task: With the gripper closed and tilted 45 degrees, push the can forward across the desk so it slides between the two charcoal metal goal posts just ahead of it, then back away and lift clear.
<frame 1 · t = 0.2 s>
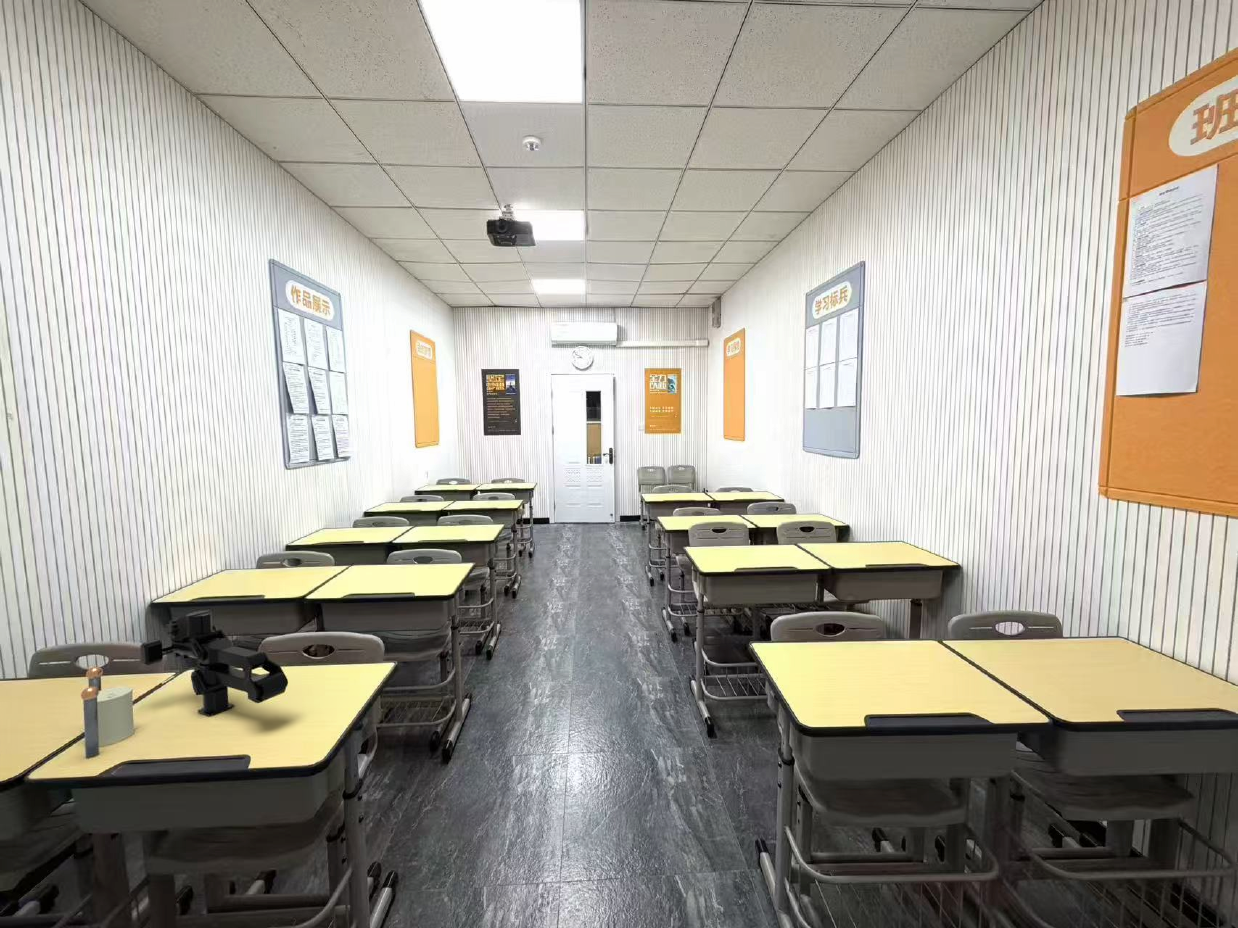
hand: (165, 640, 165), 16 cm above the table, tool horizontal, fingers open, 9 cm apart
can: (110, 738, 140), on the table
goal: (94, 741, 138), on the table
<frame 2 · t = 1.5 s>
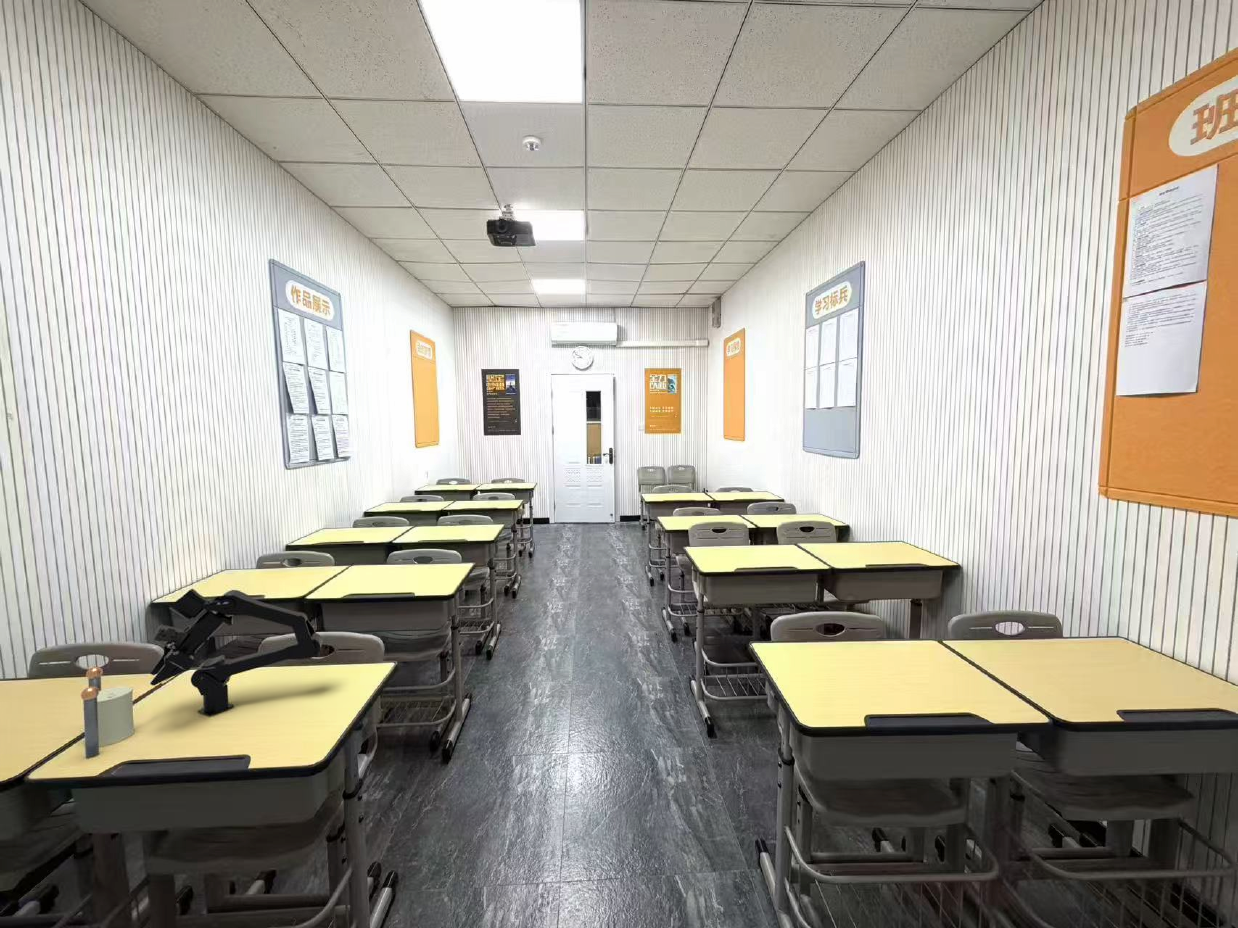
hand: (151, 679, 146), 13 cm above the table, tool tilted 45°, fingers open, 9 cm apart
nothing on the table moved.
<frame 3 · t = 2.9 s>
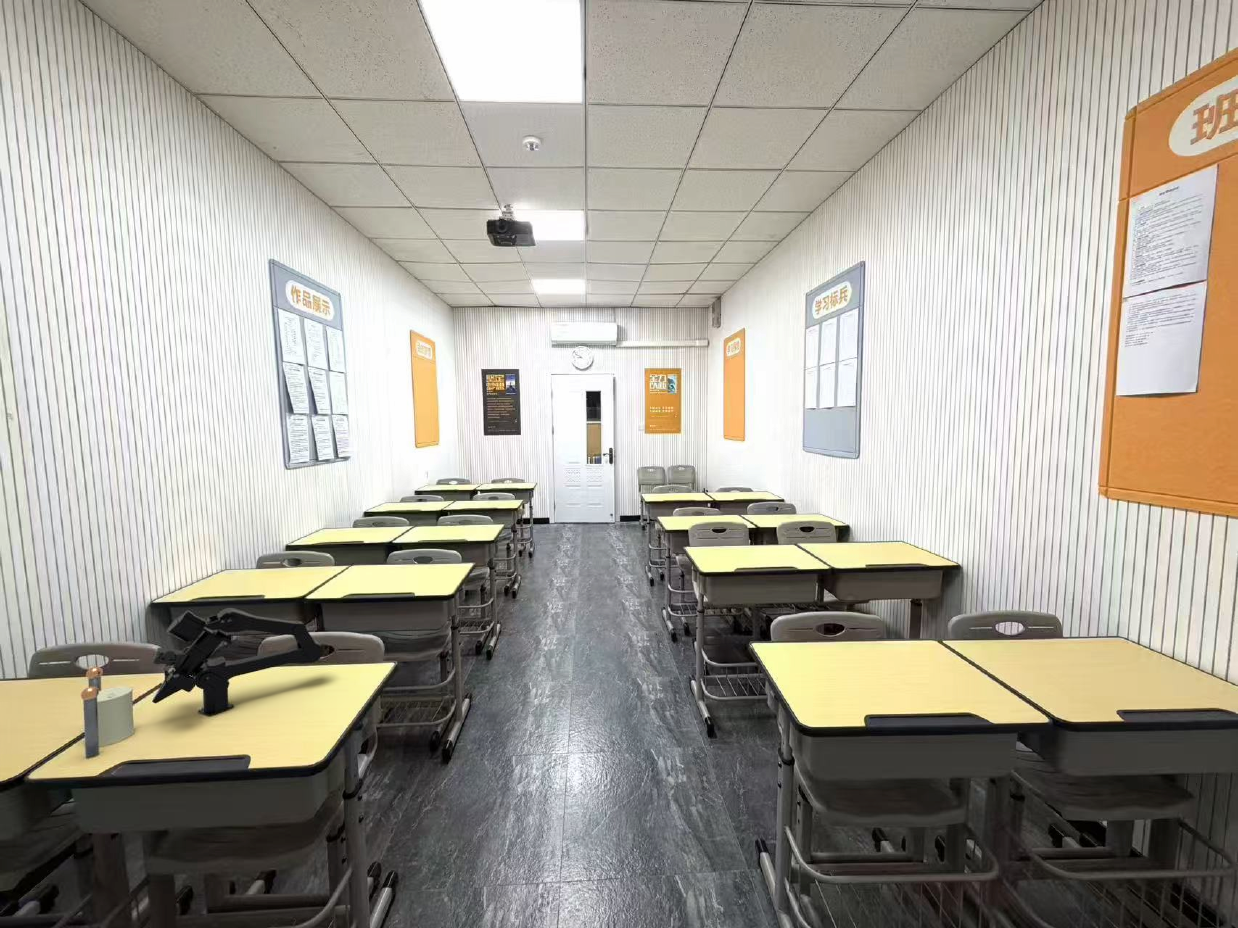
hand: (153, 702, 146), 6 cm above the table, tool tilted 40°, fingers closed
nothing on the table moved.
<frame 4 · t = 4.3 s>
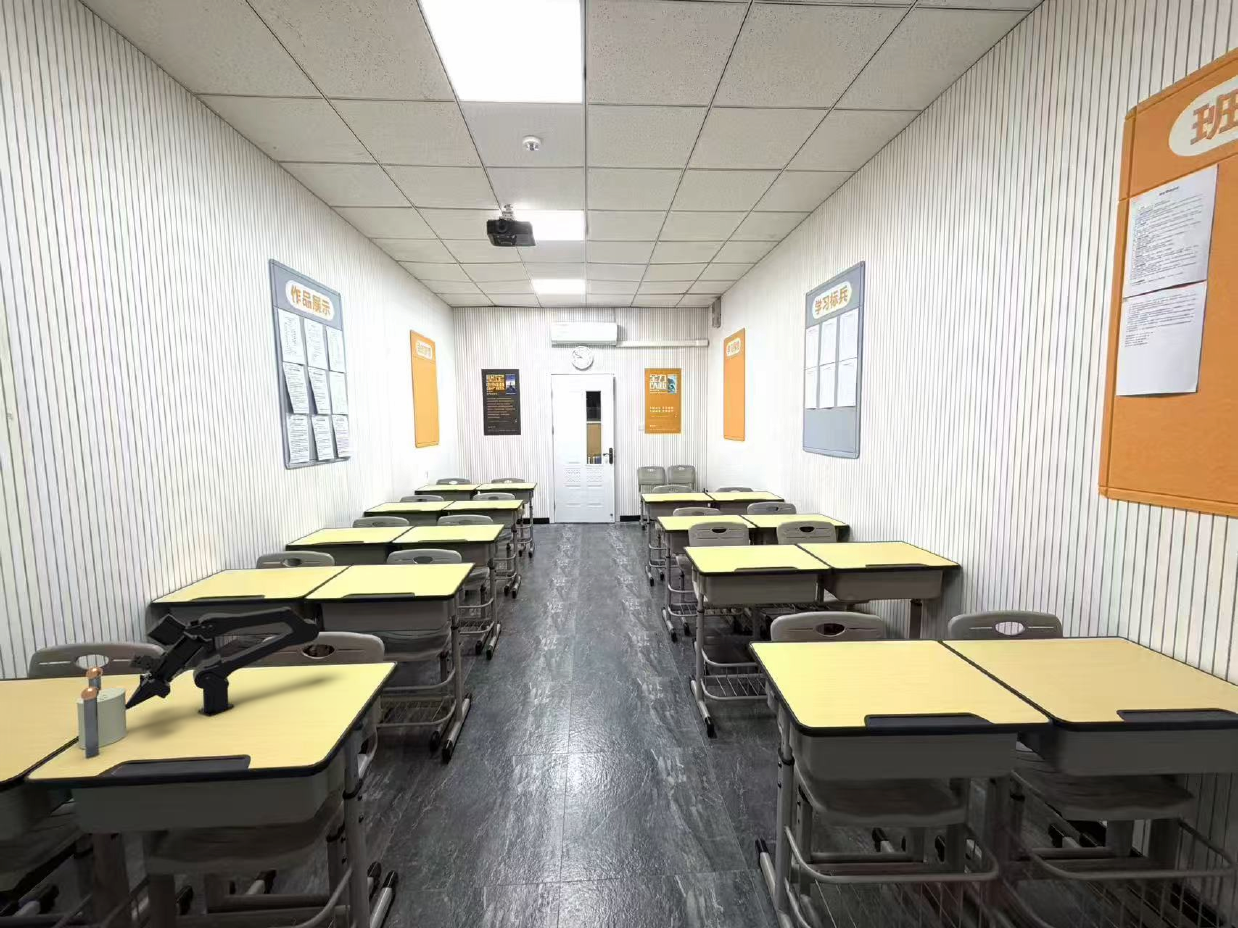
hand: (126, 707, 142), 7 cm above the table, tool tilted 45°, fingers closed
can: (103, 740, 139), on the table, touching gripper
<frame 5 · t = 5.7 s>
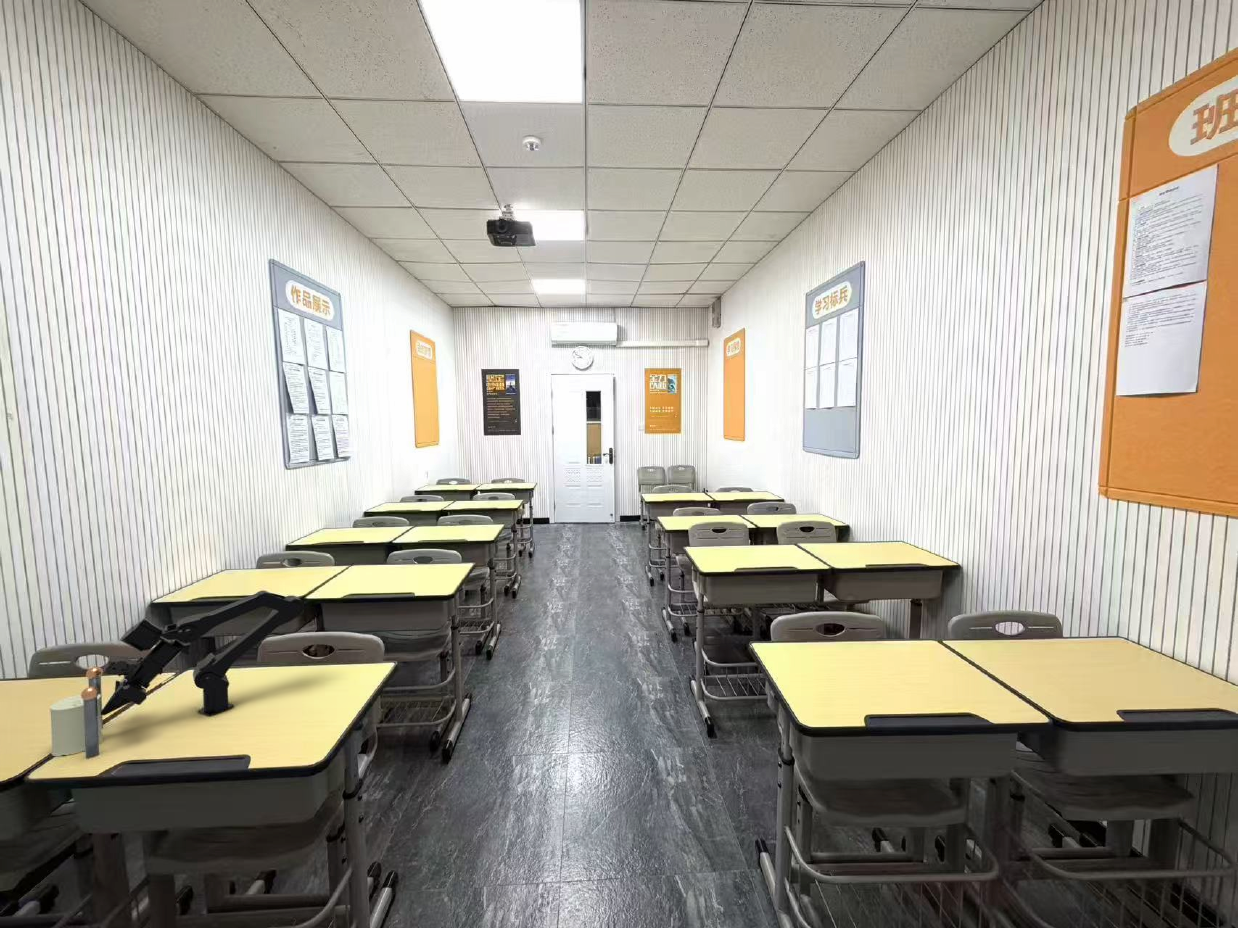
hand: (102, 714, 139), 7 cm above the table, tool tilted 45°, fingers closed
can: (77, 747, 136), on the table, touching gripper
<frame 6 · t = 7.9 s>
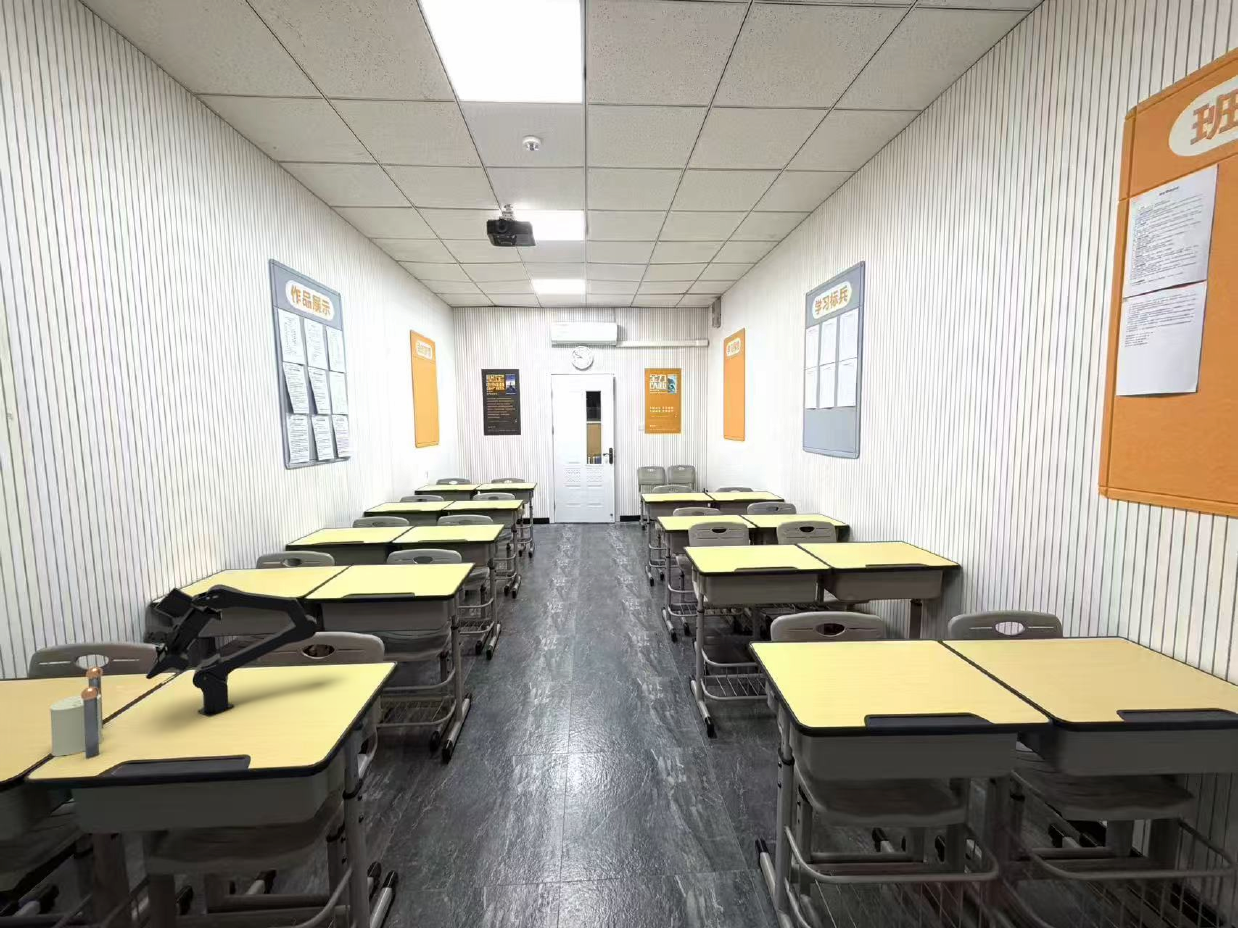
hand: (147, 678, 147), 13 cm above the table, tool tilted 40°, fingers closed
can: (77, 747, 136), on the table
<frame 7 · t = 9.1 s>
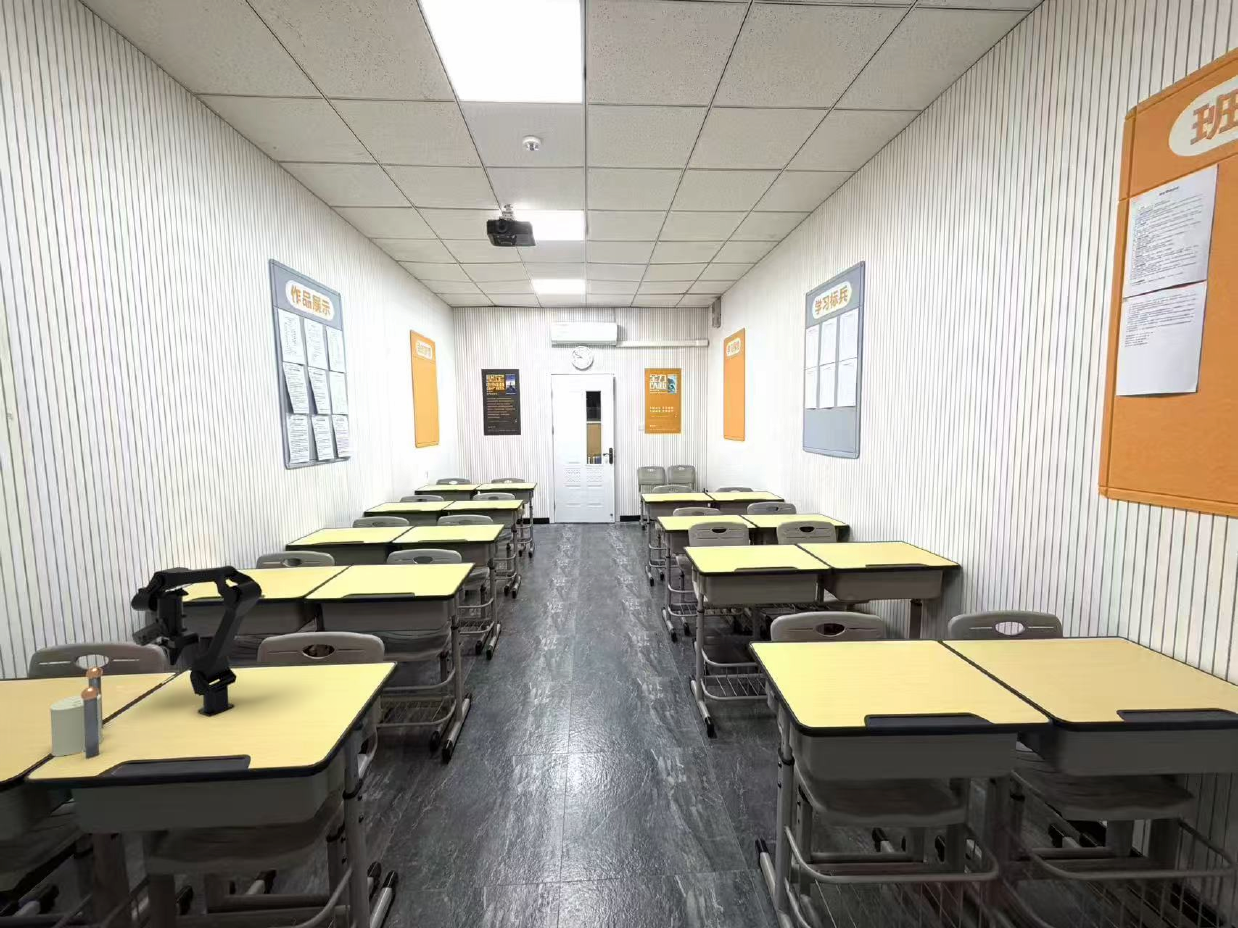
hand: (172, 665, 157), 12 cm above the table, tool pointing down, fingers closed
nothing on the table moved.
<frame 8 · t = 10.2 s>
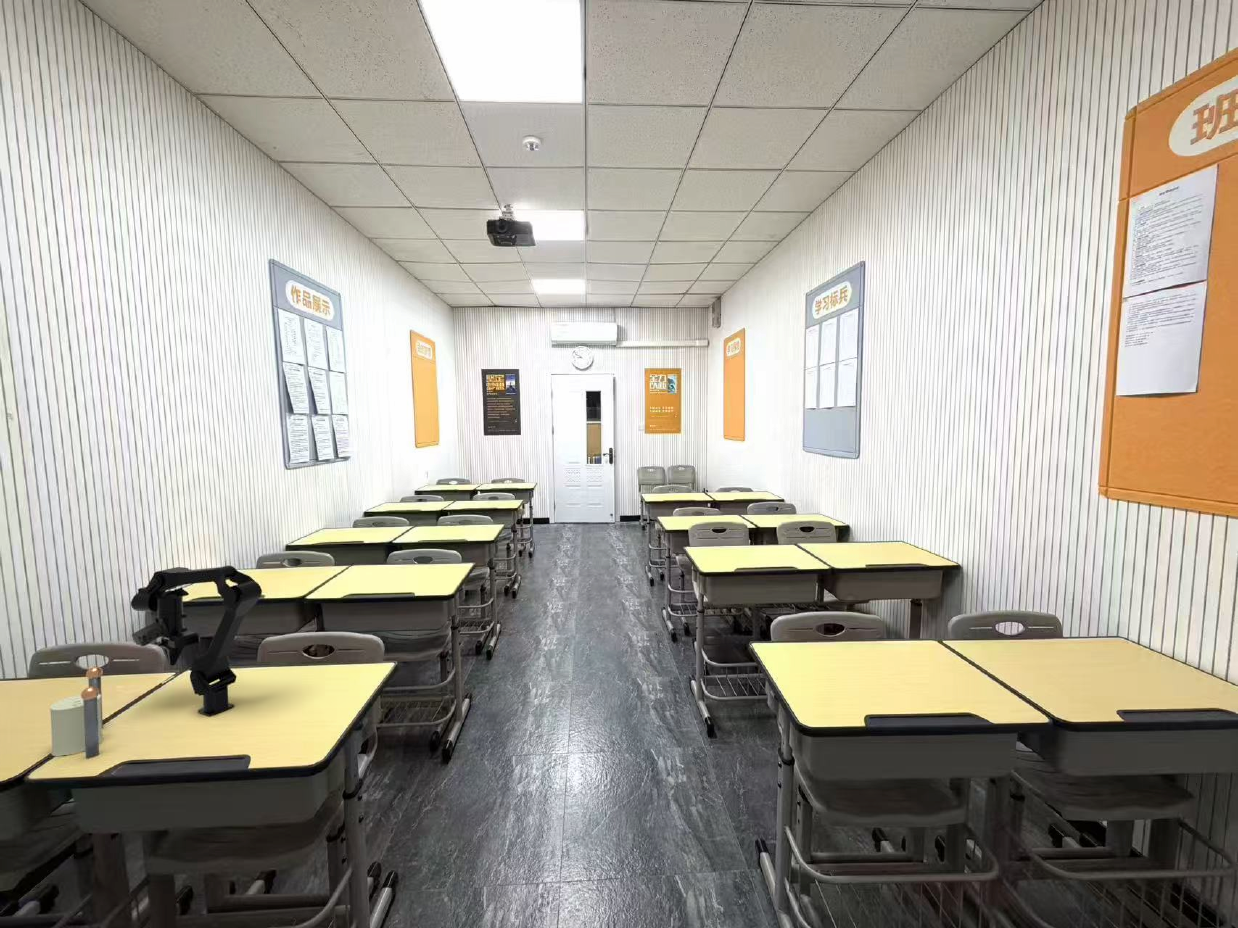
hand: (172, 665, 157), 12 cm above the table, tool pointing down, fingers closed
nothing on the table moved.
at the end: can inside the target area on the goal (1.0 cm from its centre), point 0.0 cm above the goal's base; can tilted 0°; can moved 6.1 cm from its start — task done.
